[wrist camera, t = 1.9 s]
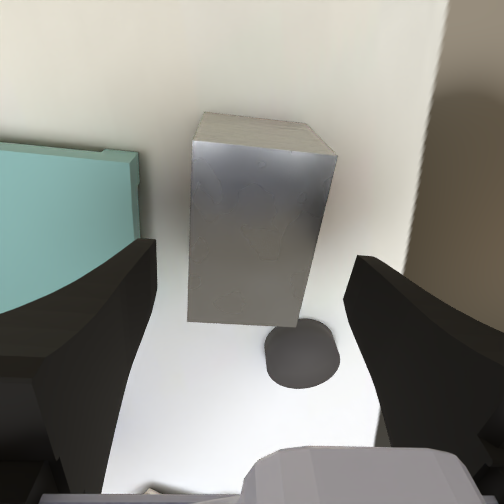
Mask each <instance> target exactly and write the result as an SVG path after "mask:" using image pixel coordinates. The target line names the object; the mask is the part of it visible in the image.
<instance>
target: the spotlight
mask: <svg viewBox="0 0 504 504" xmlns="http://www.w3.org/2000/svg"><path fill="white" fill-rule="evenodd" d="M144 494H160V493H158V492H156V491H154V490H152V489H150V488H149V489H148V490H147V491H146V492H145V493H144Z"/></svg>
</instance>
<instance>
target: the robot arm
mask: <svg viewBox="0 0 504 504" xmlns="http://www.w3.org/2000/svg"><path fill="white" fill-rule="evenodd" d="M156 291H157V258H156V240H155V239H142V238H137V239H136V240H134V241H133V242H132V243H130V244H129V245H128V246H126V247H125V248H124V249H122V250H121V251H120V252H118V253H117V254H115V255H114V256H113V257H111V258H110V259H108V260H107V261H106V262H104V263H103V264H101V265H100V266H98V267H97V268H95V269H93V270H92V271H90V272H89V273H87V274H86V275H84V276H82V277H81V278H79V279H77V280H76V281H74V282H72V283H70V284H68V285H66V286H64V287H62V288H60V289H58V290H57V291H55V292H53V293H50V294H48V295H46V296H44V297H41V298H39V299H37V300H34V301H32V302H29V303H27V304H25V305H22V306H20V307H17V308H15V309H12V310H9V311H6V312H4V313H1V314H0V504H504V333H503V332H501V331H499V330H496V329H494V328H492V327H490V326H488V325H485V324H483V323H481V322H479V321H477V320H475V319H473V318H472V317H470V316H468V315H466V314H464V313H462V312H460V311H458V310H456V309H455V308H453V307H451V306H449V305H448V304H446V303H444V302H443V301H441V300H439V299H438V298H436V297H435V296H433V295H431V294H430V293H428V292H427V291H425V290H424V289H422V288H421V287H419V286H418V285H416V284H415V283H413V282H412V281H410V280H409V279H407V278H406V277H404V276H403V275H402V274H400V273H399V272H397V271H396V270H394V269H393V268H391V267H390V266H388V265H387V264H385V263H384V262H382V261H381V260H379V259H377V258H375V257H373V256H361V255H357V257H356V260H355V264H354V267H353V270H352V273H351V276H350V279H349V282H348V285H347V289H346V292H345V295H344V298H343V302H344V306H345V310H346V314H347V318H348V322H349V325H350V327H351V330H352V332H353V335H354V337H355V339H356V342H357V344H358V347H359V349H360V351H361V354H362V356H363V358H364V361H365V363H366V366H367V368H368V370H369V373H370V375H371V378H372V381H373V383H374V386H375V389H376V393H377V396H378V399H379V403H380V406H381V410H382V413H383V416H384V421H385V424H386V428H387V432H388V436H389V440H390V444H391V447H345V446H302V447H294V448H286V449H280V450H278V451H276V452H274V453H272V454H269V455H267V456H265V457H263V458H261V459H259V460H258V461H257V462H256V463H255V464H254V466H253V467H252V468H251V470H250V471H249V473H248V474H247V475H246V477H245V478H244V481H243V486H242V491H241V495H222V494H101V492H102V487H103V482H104V477H105V472H106V468H107V463H108V459H109V454H110V450H111V445H112V441H113V437H114V432H115V428H116V424H117V420H118V416H119V411H120V407H121V403H122V399H123V395H124V391H125V388H126V384H127V380H128V376H129V373H130V370H131V367H132V364H133V361H134V359H135V356H136V353H137V351H138V348H139V345H140V343H141V340H142V337H143V335H144V332H145V329H146V327H147V324H148V321H149V318H150V316H151V313H152V309H153V305H154V301H155V296H156Z"/></svg>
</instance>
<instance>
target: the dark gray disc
mask: <svg viewBox="0 0 504 504" xmlns="http://www.w3.org/2000/svg"><path fill="white" fill-rule="evenodd" d="M265 356H266V365H267V372H268V374H269V376H270V377H271V379H272V380H273V381H275V382H276V383H277V384H279V385H281V386H284V387H287V388H294V389H303V388H310V387H314V386H317V385H319V384H321V383H323V382H325V381H327V380H328V379H329V378H331V377H332V376H333V375H334V374H335V372H336V371H337V369H338V367H339V364H340V355H339V352H338V349H337V347H336V344H335V341H334V338H333V335H332V333H331V331H330V330H329V328H328V327H327V326H326V325H324V324H323V323H321V322H319V321H316V320H312V319H298V321H297V325H296V327H278V326H277V327H276V328H274V329H273V330H272V331H271V332H270V333H269V335H268V336H267V338H266V341H265Z"/></svg>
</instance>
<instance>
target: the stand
mask: <svg viewBox="0 0 504 504" xmlns="http://www.w3.org/2000/svg"><path fill="white" fill-rule="evenodd" d="M139 183H140V177H139V158H138V152H131V151H121V150H111V149H105V150H103V151H102V152H95V151H85V150H75V149H65V148H55V147H45V146H35V145H25V144H15V143H5V142H0V314H1V313H4V312H6V311H9V310H12V309H15V308H17V307H20V306H22V305H25V304H27V303H29V302H32V301H34V300H37V299H39V298H41V297H44V296H46V295H48V294H50V293H53V292H55V291H57V290H58V289H60V288H62V287H64V286H66V285H68V284H70V283H72V282H74V281H76V280H77V279H79V278H81V277H82V276H84V275H86V274H87V273H89V272H90V271H92V270H93V269H95V268H97V267H98V266H100V265H101V264H103V263H104V262H106V261H107V260H108V259H110V258H111V257H113V256H114V255H115V254H117V253H118V252H120V251H121V250H122V249H124V248H125V247H126V246H128V245H129V244H130V243H132V242H133V241H134V240H136V239H137V238H140V223H139V204H138V185H139Z"/></svg>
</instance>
